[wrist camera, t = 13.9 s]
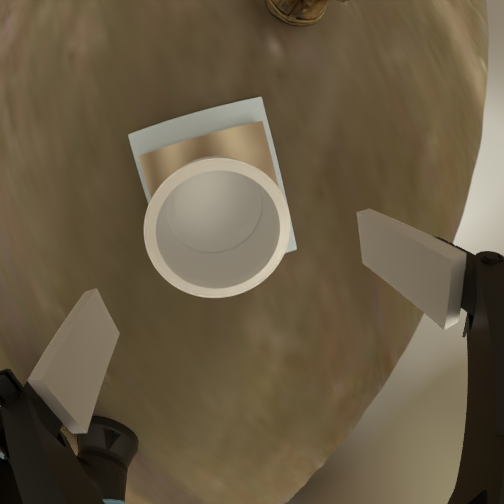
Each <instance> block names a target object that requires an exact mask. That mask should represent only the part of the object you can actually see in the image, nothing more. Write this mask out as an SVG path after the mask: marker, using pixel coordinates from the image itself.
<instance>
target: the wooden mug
mask: <svg viewBox="0 0 504 504" xmlns="http://www.w3.org/2000/svg"><path fill="white" fill-rule="evenodd" d="M265 1H266V6H267V8H268V9H269V11H270V12H271V13H272V14H273V15H274V16H275V17H276V18H278V19H280V20H282V21H284V22H286V23H288V24H291V25H297V26H308V25H312V24H315V23H316V22H317V21H318V20H320V19H321V17H322V16H323V14H324V12H325V9H326V6H327V4H328V2H329V1H330V0H265ZM337 1H340V2H346V1H348V0H337Z"/></svg>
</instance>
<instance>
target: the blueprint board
mask: <svg viewBox="0 0 504 504" xmlns="http://www.w3.org/2000/svg"><path fill="white" fill-rule="evenodd" d="M259 121H263V125H264V129H265V133H266V137H267V141H268V145H269V149H270V153H271V157H272V161H273V165H274V170H275V174H276V178H277V182H278V187H279V189H280V191H281V192H282V194H283V196H284V198H285V201H286V203H287V200H286V196H285V191H284V187H283V182H282V178H281V174H280V169H279V165H278V161H277V157H276V153H275V149H274V144H273V140H272V136H271V132H270V128H269V124H268V121H267V117H266V113H265V109H264V105H263V101H262V98H261V97H257V98H252V99H247V100H243V101H238V102H234V103H230V104H225V105H221V106H217V107H213V108H210V109H206V110H202V111H199V112H195V113H191V114H188V115H185V116H181V117H178V118H175V119H172V120H168V121H165V122H162V123H159V124H156V125H153V126H150V127H147V128H145V129H142V130H139V131H136V132H134V133H131V134H128V137H129V141H130V144H131V148H132V151H133V155H134V159H135V162H136V165H137V169H138V172H139V176H140V179H141V182H142V186H143V189H144V192H145V195H146V198H147V201H148V205H149V203H150V201H151V196H150V193H149V190H148V187H147V183H146V180H145V177H144V173H143V170H142V167H141V163H140V160H139V156H140V155H143V154H146V153H149V152H152V151H154V150H157V149H160V148H163V147H167V146H170V145H173V144H176V143H179V142H182V141H186V140H189V139H192V138H196V137H199V136H203V135H206V134H210V133H214V132H217V131H221V130H225V129H229V128H233V127H237V126H241V125H245V124H250V123H254V122H259ZM287 206H288V205H287ZM288 210H289V209H288ZM290 224H291V227H290V238H289V242H288V246H287V249H286V251H285V253H287V252H290V251H294V250H297V247H296V242H295V237H294V232H293V228H292V223H291V218H290Z"/></svg>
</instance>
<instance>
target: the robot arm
mask: <svg viewBox="0 0 504 504" xmlns="http://www.w3.org/2000/svg"><path fill="white" fill-rule="evenodd" d="M356 213H357V220H358V228H359V236H360V245H361V254H362V263H363V264H364V265H366V266H367V267H368V268H369V269H371V270H372V271H373V272H375V273H376V274H377V275H378V276H380V277H381V278H382V279H383V280H385V281H386V282H387V283H388V284H390V285H391V286H392V287H393V288H395V289H396V290H397V291H398V292H400V293H401V294H402V295H403V296H405V297H406V298H407V299H408V300H409V301H411V302H412V303H413V304H414V305H415V306H417V307H418V308H419V309H420V310H421V311H423V312H424V313H425V314H426V315H427V316H429V317H430V318H431V319H432V320H433V321H434V322H436V323H437V324H438V325H439V326H440V327H441V328H442V329H444V330H445V329H447V328H449V327H450V326H452V325H454V324H455V323H457V322H458V321H459V315H460V310H461V308H462V309H464V310H465V311H466V312H467V317H466V322H465V328H464V332H463V337H465V335H466V333H467V350H468V394H467V412H466V424H465V433H464V441H463V449H462V455H461V461H460V467H459V473H458V477H457V482H456V486H455V489H454V492H453V493H452V495H451V497H450V499H449V502H448V504H504V257H503V256H502V255H500V254H499V253H496V252H490V251H484V252H480V253H477V254H476V255H474V254H472V253H470V252H468V251H466V250H464V249H462V248H460V247H458V246H455V245H454V244H452V243H450V242H449V243H448V241H446V240H444V239H441V238H439V237H434V236H431V235H428V234H426V233H424V232H422V231H420V230H418V229H415V228H413V227H411V226H409V225H407V224H404V223H402V222H400V221H397V220H395V219H393V218H391V217H388V216H386V215H383V214H381V213H379V212H376V211H374V210H371V209H367V210H363V211H359V212H356ZM119 334H120V333H119V331H118V329H117V328H116V326H115V324H114V322H113V320H112V318H111V316H110V314H109V312H108V310H107V308H106V306H105V304H104V302H103V300H102V298H101V296H100V294H99V292H98V289H97V288H95V289H92V290H89V291H85V292H84V293H83V295H82V296H81V298H80V299H79V300H78V302H77V303H76V305H75V306H74V307H73V309H72V310H71V312H70V313H69V315H68V316H67V318H66V319H65V320H64V322H63V323H62V325H61V326H60V328H59V329H58V331H57V332H56V334H55V336H54V337H53V339H52V340H51V342H50V343H49V345H48V346H47V348H46V350H45V351H44V353H43V355H42V356H41V358H40V359H39V361H38V363H37V364H36V366H35V368H34V370H33V371H32V373H31V375H30V376H29V378H28V380H27V382H26V384H25V386H24V388H23V386H22V385H21V384H20V382H19V381H18V380H17V378H16V377H15V375H14V374H13V373H12V371H11V370H10V369H5V370H2V371H0V405H1V407H0V451H1V454H0V504H125V490H126V480H127V470H128V467H129V465H130V463H131V461H132V459H133V457H134V456H135V454H136V453H137V450H138V439H137V437H136V435H135V434H134V433H133V432H132V431H131V430H129V429H128V428H127V427H125V426H123V425H122V424H120V423H118V422H115V421H113V420H110V419H106V418H102V417H92V414H93V411H94V407H95V404H96V401H97V398H98V395H99V391H100V388H101V385H102V382H103V379H104V376H105V373H106V370H107V367H108V365H109V362H110V359H111V356H112V353H113V351H114V348H115V345H116V342H117V340H118V337H119ZM62 424H63V425H64V426H65V427H66V428H67V429H68V430H69V431H70V432H71V433H72V434H76V433H77V443H78V455H77V456H76V455H75V454H74V452H73V450H72V448H71V446H70V444H69V442H68V440H67V438H66V436H65V435H64V434H63V433H62V432H61V431H60V429H61V426H62Z"/></svg>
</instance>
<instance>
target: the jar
mask: <svg viewBox="0 0 504 504" xmlns="http://www.w3.org/2000/svg"><path fill="white" fill-rule="evenodd" d="M290 227H291V224H290V214H289V210H288V206H287V203H286V201H285V198H284V196H283V194H282V192H281V191H280V189H279V188H278V186H277V185H276V184H275V183H274V181H273V180H272V179H271V178H270V177H269V176H268V175H267V174H265V173H264V172H263V171H261V170H260V169H258V168H257V167H255V166H253V165H251V164H249V163H247V162H244V161H241V160H238V159H235V158H231V157H226V156H208V157H203V158H199V159H196V160H194V161H191V162H189V163H187V164H186V165H184V166H182V167H181V168H180V169H178V170H177V171H176V172H174V173H173V174H172V175H170V176H169V177H168V178H167V179H166V180H165V181H164V182H163V183H162V184H161V185H160V186H159V188H158V189H157V190H156V192H155V193H154V195H153V197H152V199H151V201H150V203H149V205H148V208H147V211H146V215H145V220H144V241H145V246H146V249H147V252H148V255H149V257H150V260H151V261H152V263H153V265H154V267H155V268H156V269H157V271H158V272H159V273H160V274H161V275H162V276H163V278H165V279H166V280H167V281H168V282H169V283H170V284H172V285H173V286H175V287H176V288H178V289H180V290H182V291H184V292H186V293H189V294H192V295H195V296H200V297H206V298H223V297H230V296H234V295H237V294H241V293H243V292H246V291H248V290H250V289H252V288H254V287H255V286H257V285H258V284H260V283H261V282H262V281H264V280H265V279H266V278H267V277H268V276H269V275H270V274H271V273H272V272H273V271H274V270H275V269H276V267H277V266H278V264H279V263H280V261H281V260H282V258H283V256H284V254H285V251H286V249H287V246H288V242H289V237H290Z"/></svg>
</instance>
